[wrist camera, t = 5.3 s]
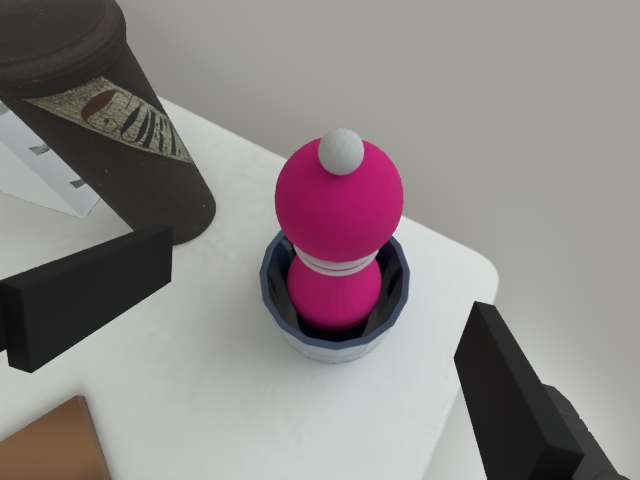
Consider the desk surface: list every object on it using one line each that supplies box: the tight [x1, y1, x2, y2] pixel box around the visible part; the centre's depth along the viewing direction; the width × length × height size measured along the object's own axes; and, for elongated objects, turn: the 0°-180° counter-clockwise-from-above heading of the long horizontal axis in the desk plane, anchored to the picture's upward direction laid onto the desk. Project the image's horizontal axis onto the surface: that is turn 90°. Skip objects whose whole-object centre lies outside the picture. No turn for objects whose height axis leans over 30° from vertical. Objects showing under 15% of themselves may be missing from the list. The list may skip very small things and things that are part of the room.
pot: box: [260, 229, 410, 364], centre depth 27 cm, size 11×11×7 cm
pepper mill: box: [275, 128, 403, 335], centre depth 21 cm, size 7×7×20 cm
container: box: [0, 0, 216, 245], centre depth 26 cm, size 9×9×20 cm
